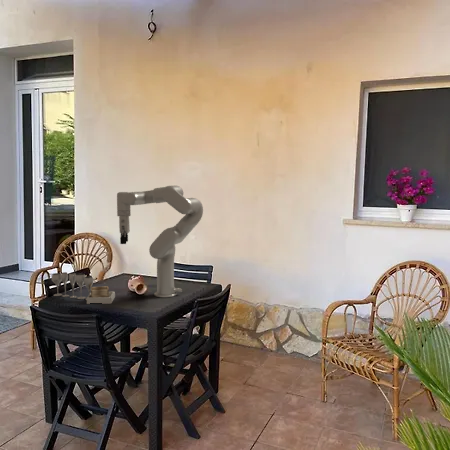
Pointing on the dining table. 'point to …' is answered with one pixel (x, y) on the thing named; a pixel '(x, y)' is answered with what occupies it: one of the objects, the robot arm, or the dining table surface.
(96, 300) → the grey square tray
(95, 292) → the small crate
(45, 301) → the dining table surface
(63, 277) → the goblet set
